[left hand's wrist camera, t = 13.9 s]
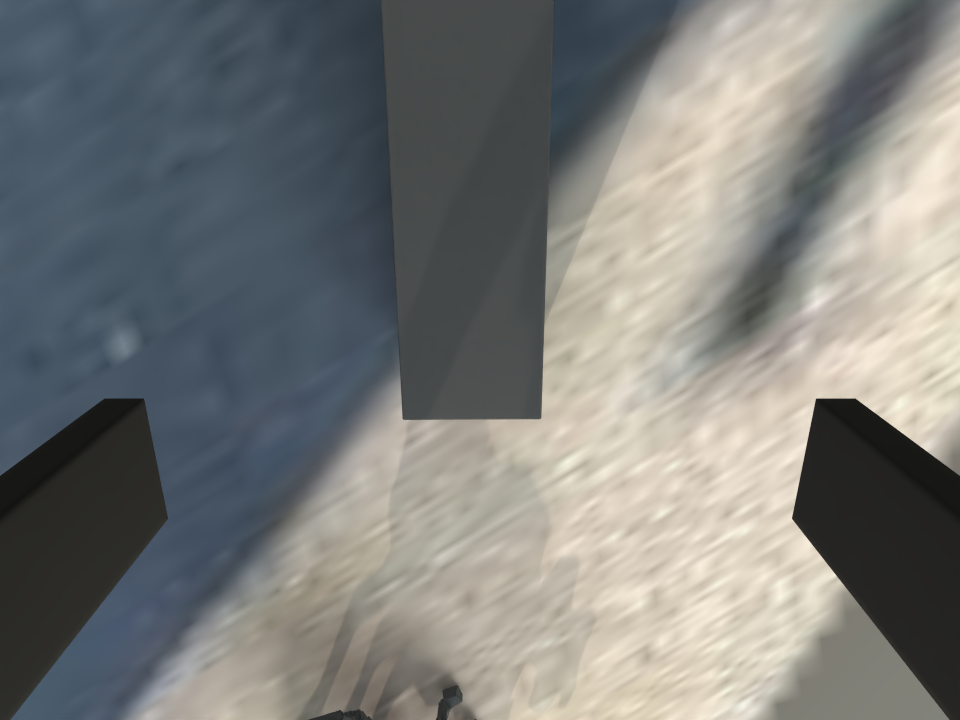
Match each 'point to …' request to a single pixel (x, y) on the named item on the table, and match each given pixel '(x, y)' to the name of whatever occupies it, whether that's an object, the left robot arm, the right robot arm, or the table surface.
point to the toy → (449, 700)
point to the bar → (469, 201)
